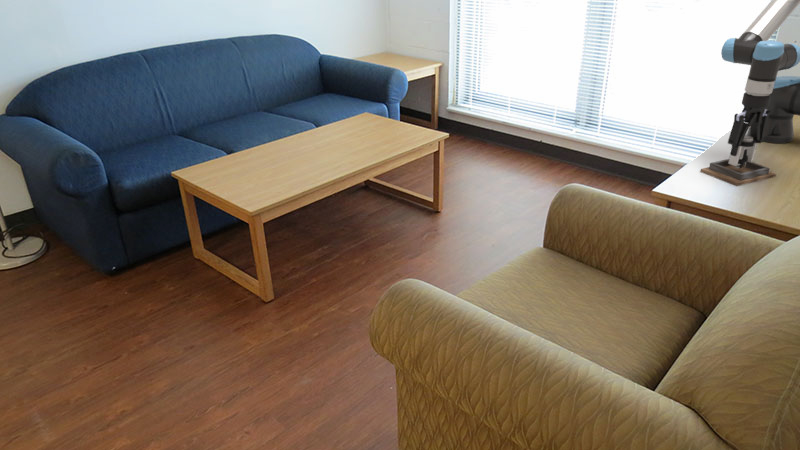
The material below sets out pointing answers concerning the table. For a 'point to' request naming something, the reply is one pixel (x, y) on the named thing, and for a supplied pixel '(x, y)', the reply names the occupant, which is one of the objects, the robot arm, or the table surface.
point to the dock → (737, 172)
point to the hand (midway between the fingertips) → (740, 162)
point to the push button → (745, 150)
